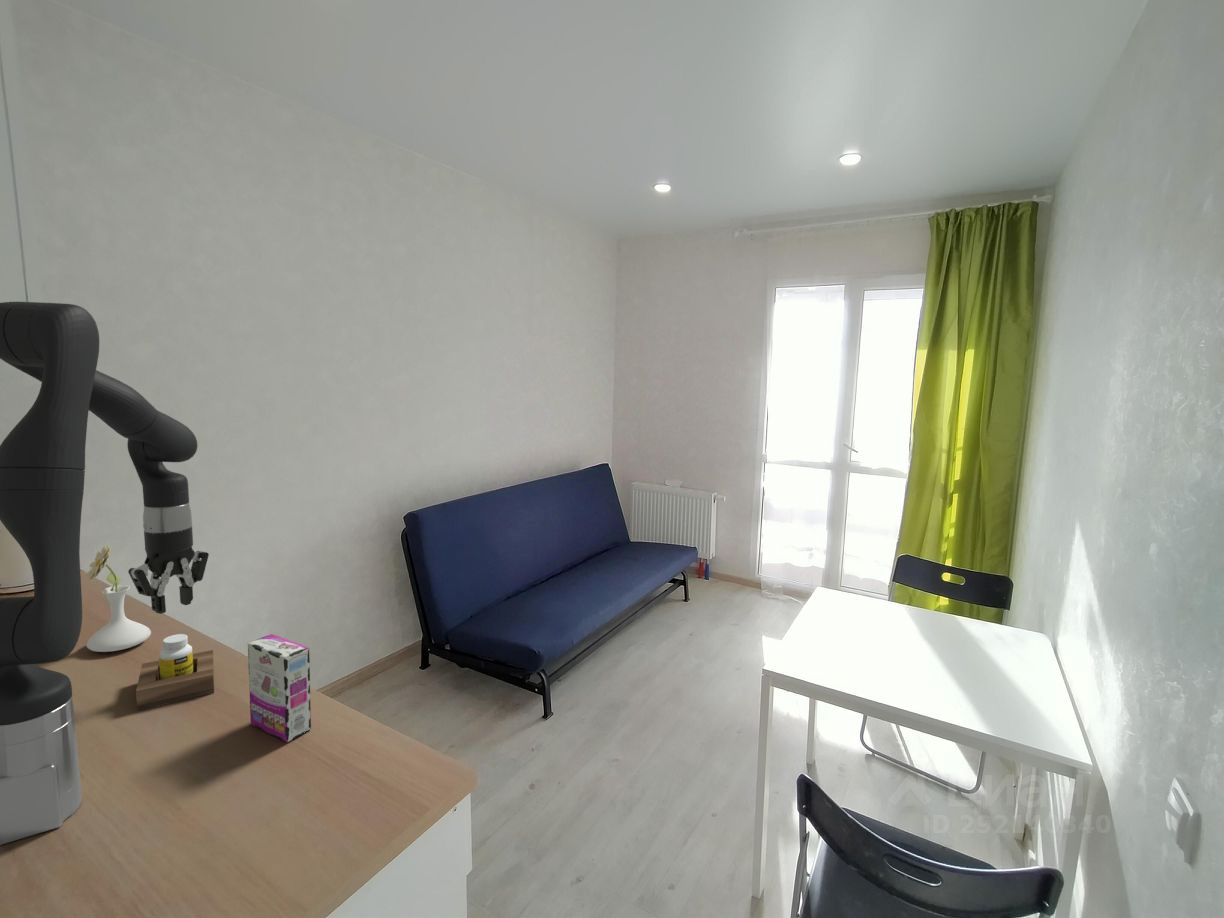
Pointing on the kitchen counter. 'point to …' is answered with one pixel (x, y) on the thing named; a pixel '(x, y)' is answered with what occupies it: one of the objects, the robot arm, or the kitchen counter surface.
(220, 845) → the kitchen counter surface
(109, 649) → the flower in vase
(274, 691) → the candy bar box
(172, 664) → the supplement bottle
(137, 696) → the socket block
